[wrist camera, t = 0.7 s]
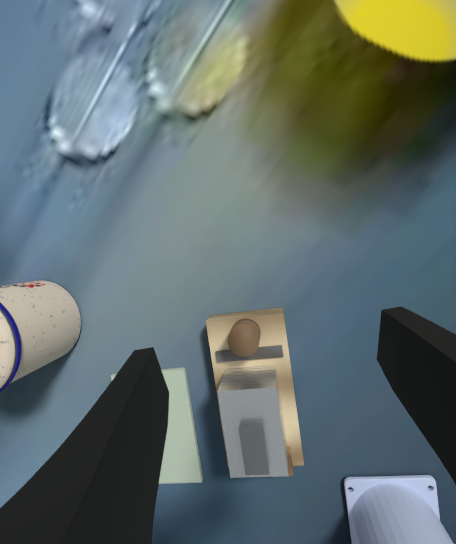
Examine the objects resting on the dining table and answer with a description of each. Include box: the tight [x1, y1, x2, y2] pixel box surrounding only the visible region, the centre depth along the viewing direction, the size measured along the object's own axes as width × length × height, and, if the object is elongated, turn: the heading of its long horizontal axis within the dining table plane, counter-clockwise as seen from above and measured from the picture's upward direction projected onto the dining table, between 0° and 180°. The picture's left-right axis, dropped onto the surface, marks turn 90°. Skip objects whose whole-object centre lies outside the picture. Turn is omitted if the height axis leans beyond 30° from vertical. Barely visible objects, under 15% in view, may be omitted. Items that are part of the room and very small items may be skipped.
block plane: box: [206, 307, 304, 476], centre depth 28 cm, size 14×7×5 cm, turn 9°
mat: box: [111, 367, 203, 484], centre depth 32 cm, size 12×8×1 cm, turn 9°
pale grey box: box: [217, 364, 289, 478], centre depth 25 cm, size 7×4×5 cm, turn 9°
